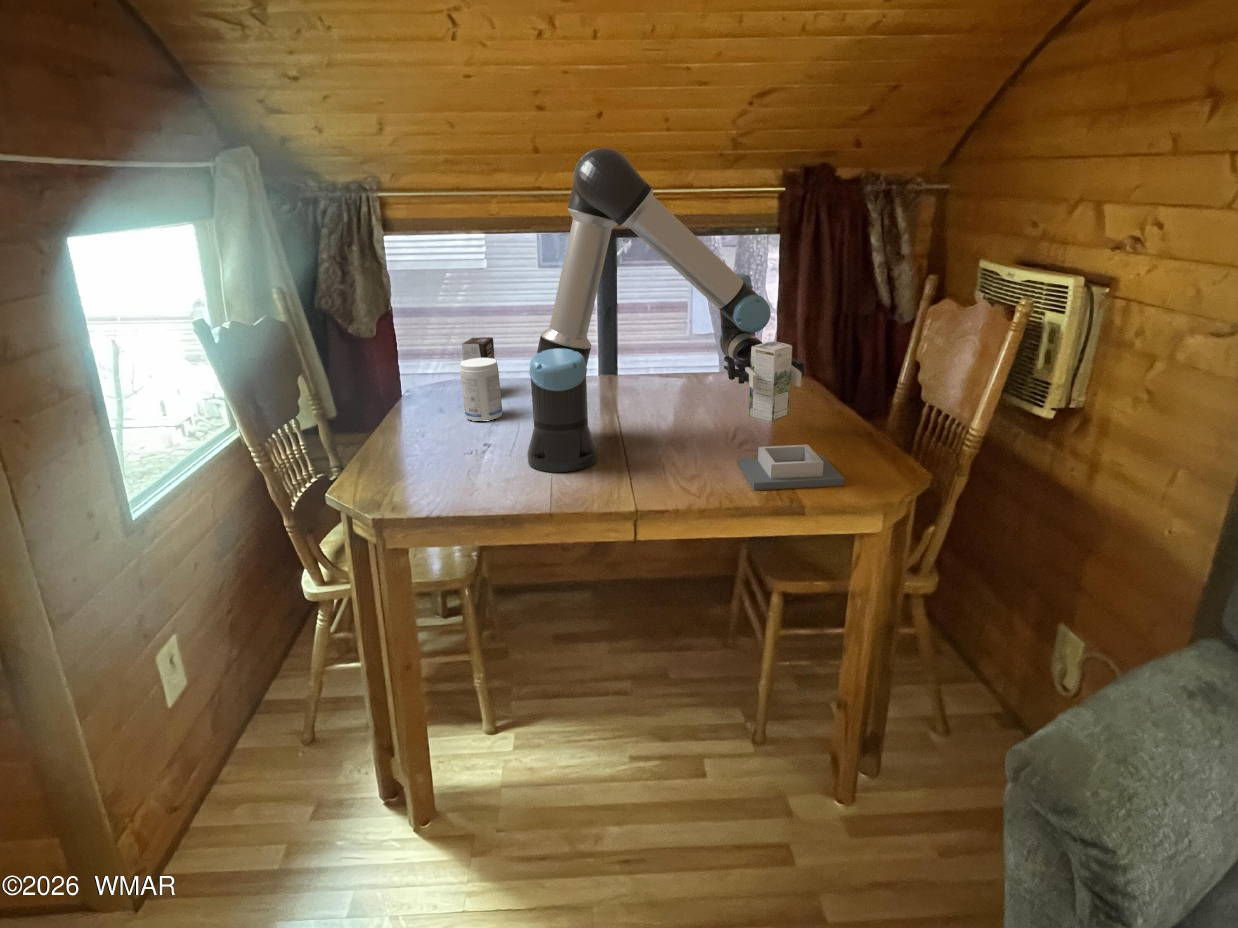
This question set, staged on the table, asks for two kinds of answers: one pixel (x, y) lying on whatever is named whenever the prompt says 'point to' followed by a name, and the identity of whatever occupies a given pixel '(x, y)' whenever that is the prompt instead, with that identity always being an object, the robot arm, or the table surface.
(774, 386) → the syrup box
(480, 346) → the coffee box
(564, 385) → the robot arm
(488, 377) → the supplement tub
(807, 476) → the socket board
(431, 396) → the table surface
